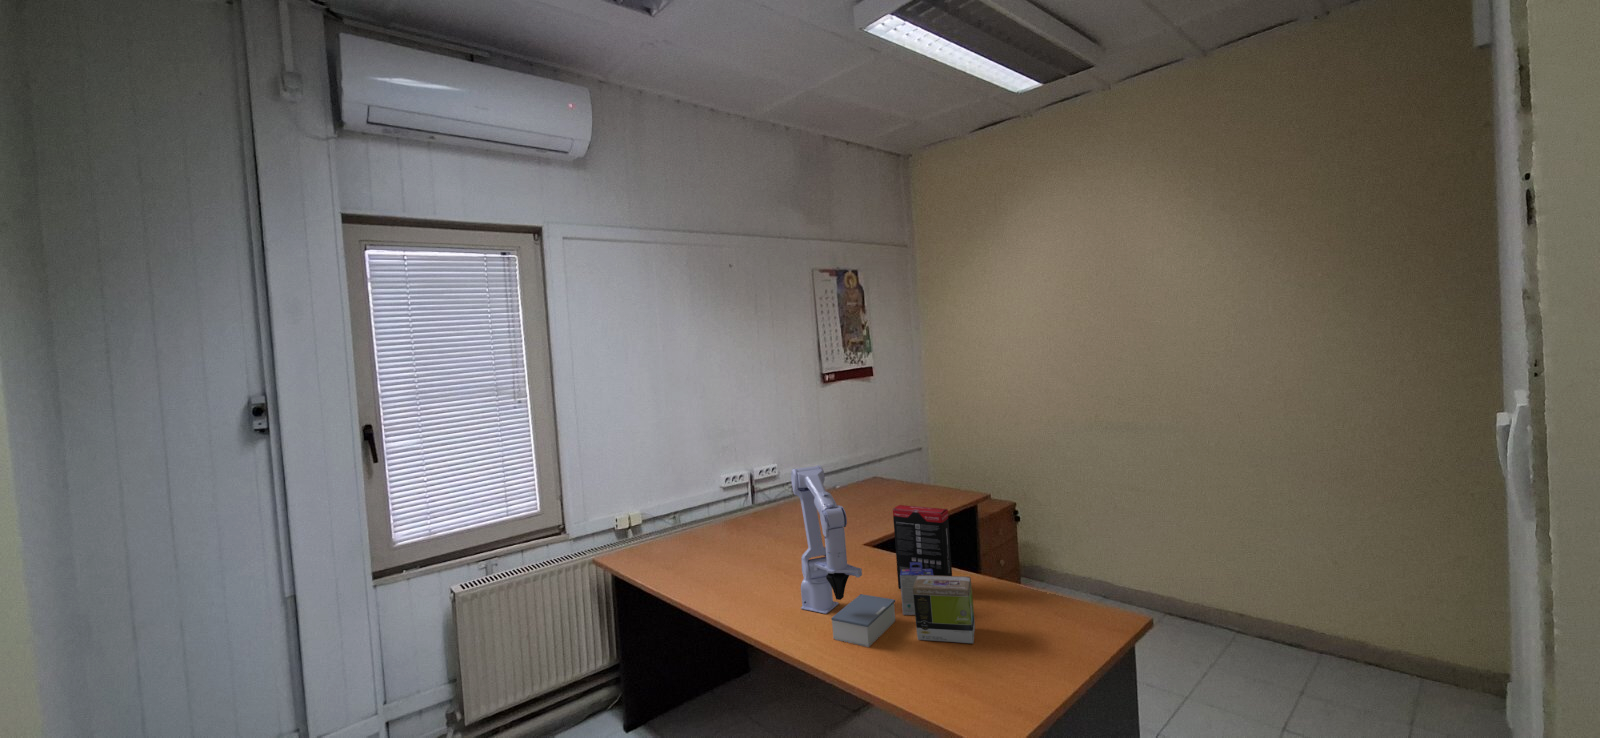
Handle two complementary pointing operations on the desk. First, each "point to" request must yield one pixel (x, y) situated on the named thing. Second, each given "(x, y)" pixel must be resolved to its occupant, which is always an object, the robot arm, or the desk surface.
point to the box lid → (863, 610)
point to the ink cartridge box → (910, 586)
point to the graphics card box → (922, 539)
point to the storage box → (864, 629)
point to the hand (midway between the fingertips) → (839, 598)
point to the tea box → (944, 608)
